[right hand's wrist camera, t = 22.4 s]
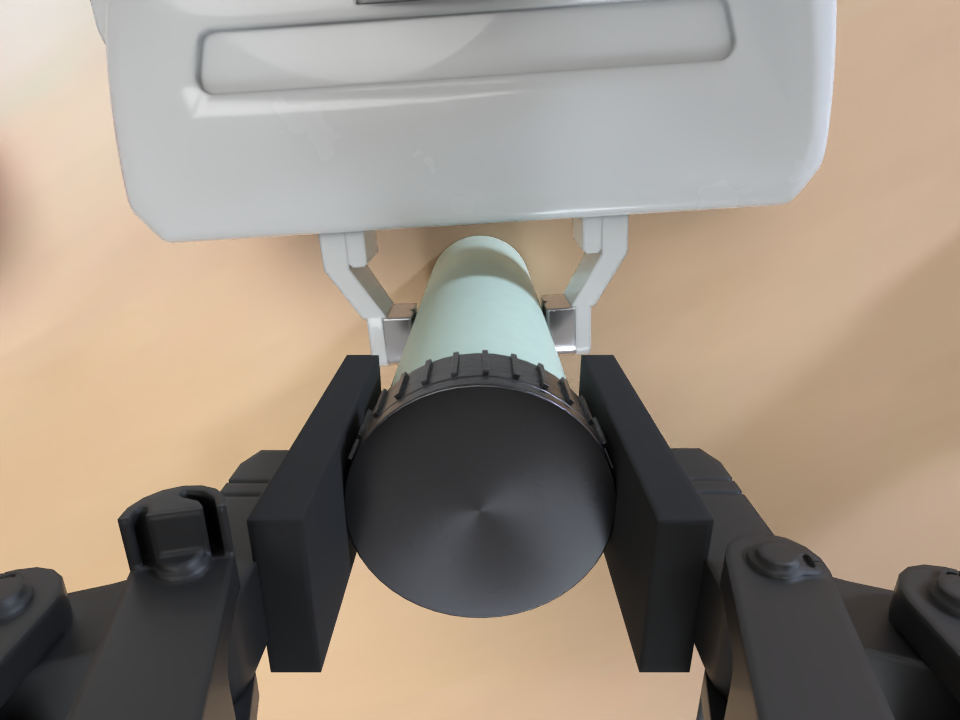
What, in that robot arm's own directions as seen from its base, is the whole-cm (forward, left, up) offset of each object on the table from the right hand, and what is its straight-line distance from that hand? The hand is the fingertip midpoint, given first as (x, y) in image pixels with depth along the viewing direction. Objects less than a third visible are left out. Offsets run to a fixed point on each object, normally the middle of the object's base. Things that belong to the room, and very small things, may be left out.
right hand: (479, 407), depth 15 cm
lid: (0, 0, +4) cm, 4 cm away
